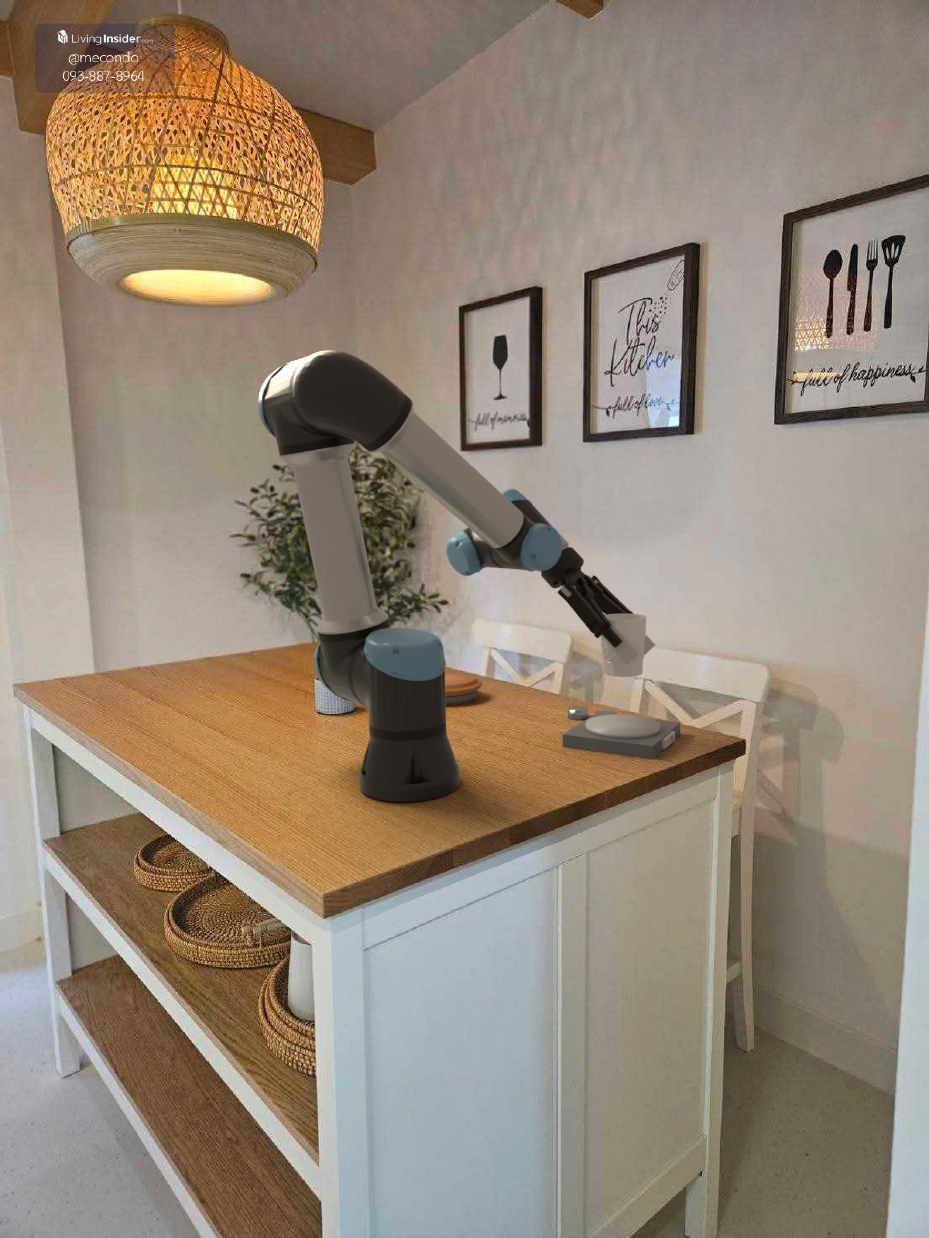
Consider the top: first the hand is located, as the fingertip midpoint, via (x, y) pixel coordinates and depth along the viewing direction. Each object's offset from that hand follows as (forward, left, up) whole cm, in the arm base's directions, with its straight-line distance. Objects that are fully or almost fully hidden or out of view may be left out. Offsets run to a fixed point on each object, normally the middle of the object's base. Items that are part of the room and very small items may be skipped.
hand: (642, 654), depth 140 cm
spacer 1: (+11, +16, -16) cm, 25 cm away
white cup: (0, +3, -4) cm, 5 cm away
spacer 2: (+10, +10, -16) cm, 21 cm away
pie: (+14, +48, -16) cm, 53 cm away
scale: (0, +3, -16) cm, 16 cm away
